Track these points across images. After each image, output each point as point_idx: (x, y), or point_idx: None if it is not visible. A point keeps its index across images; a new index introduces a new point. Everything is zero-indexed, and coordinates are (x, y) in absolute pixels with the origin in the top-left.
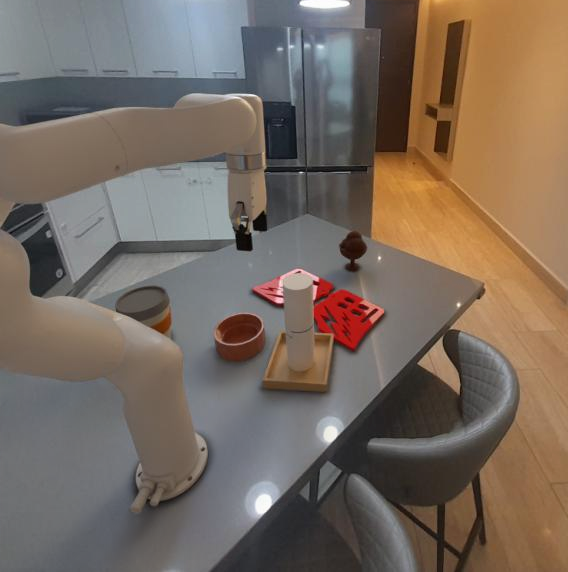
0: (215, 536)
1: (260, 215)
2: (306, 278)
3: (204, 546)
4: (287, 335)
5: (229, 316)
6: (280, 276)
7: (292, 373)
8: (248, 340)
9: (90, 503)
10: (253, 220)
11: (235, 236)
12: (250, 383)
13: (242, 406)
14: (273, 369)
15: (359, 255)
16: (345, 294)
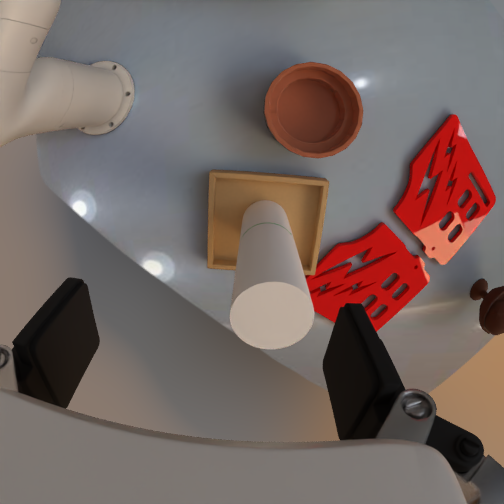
0: (54, 173)
1: (355, 426)
2: (285, 335)
3: (48, 167)
4: (248, 228)
5: (350, 83)
6: (481, 167)
7: (238, 211)
8: (317, 122)
9: (71, 43)
10: (359, 358)
11: (28, 324)
12: (220, 147)
13: (178, 147)
14: (246, 179)
15: (480, 319)
16: (416, 285)
